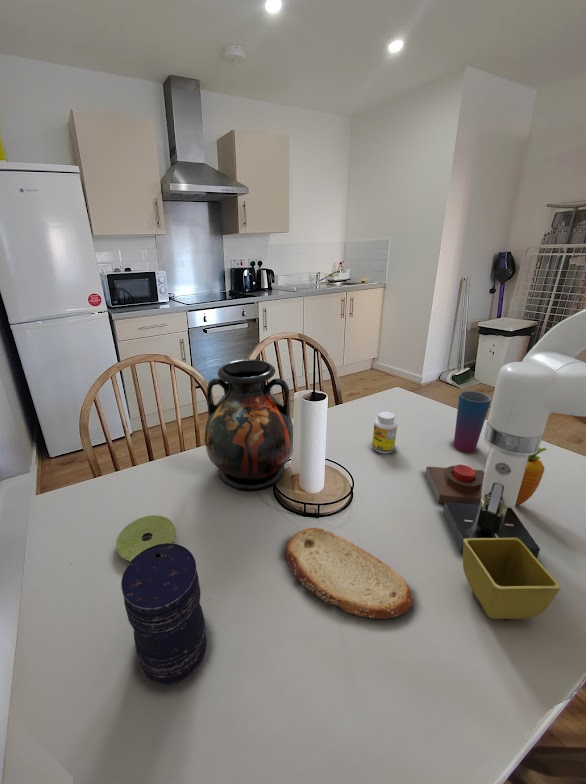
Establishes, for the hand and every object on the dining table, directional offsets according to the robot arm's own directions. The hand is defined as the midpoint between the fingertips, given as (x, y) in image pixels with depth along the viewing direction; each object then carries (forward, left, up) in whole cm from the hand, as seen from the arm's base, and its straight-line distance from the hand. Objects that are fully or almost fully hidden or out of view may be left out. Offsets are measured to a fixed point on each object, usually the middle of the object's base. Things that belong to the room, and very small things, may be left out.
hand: (489, 519), depth 66 cm
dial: (0, 0, -1) cm, 1 cm away
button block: (0, -13, -4) cm, 14 cm away
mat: (+64, +11, -4) cm, 65 cm away
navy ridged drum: (+52, +28, -4) cm, 59 cm away
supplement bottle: (+14, -28, -4) cm, 32 cm away
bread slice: (+27, +12, -4) cm, 30 cm away
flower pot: (+4, +14, -4) cm, 15 cm away
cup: (-7, -31, -4) cm, 32 cm away
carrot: (-10, -10, -4) cm, 14 cm away
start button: (0, -13, 0) cm, 13 cm away
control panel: (0, 0, -4) cm, 4 cm away
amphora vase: (+47, -13, -4) cm, 50 cm away
